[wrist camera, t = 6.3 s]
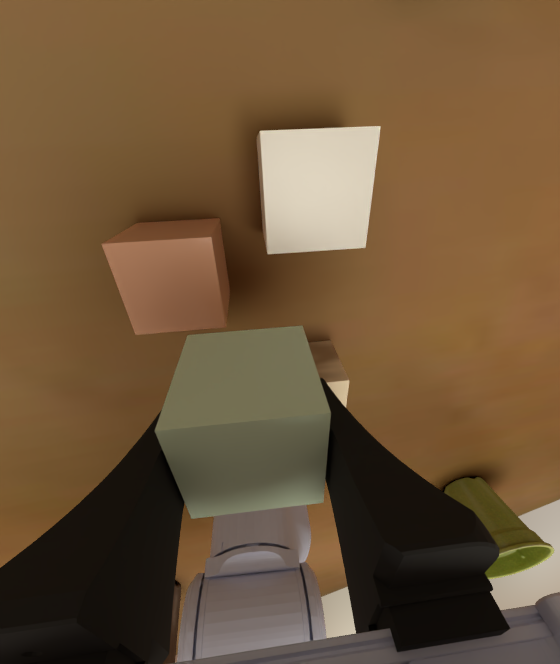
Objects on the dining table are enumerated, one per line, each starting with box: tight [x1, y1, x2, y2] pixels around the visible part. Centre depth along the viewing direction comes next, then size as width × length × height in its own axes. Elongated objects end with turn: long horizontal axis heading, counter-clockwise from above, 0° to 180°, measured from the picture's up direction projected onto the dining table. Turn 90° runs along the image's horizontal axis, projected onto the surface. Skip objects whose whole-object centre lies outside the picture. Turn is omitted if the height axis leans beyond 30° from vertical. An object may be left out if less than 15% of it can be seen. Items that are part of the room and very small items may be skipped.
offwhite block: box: [256, 126, 381, 254], centre depth 15 cm, size 5×5×5 cm
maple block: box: [308, 340, 349, 407], centre depth 22 cm, size 5×5×5 cm
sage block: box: [155, 326, 331, 519], centre depth 11 cm, size 5×5×5 cm
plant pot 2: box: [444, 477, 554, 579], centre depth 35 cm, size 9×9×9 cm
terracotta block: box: [102, 218, 230, 335], centre depth 16 cm, size 5×5×5 cm
